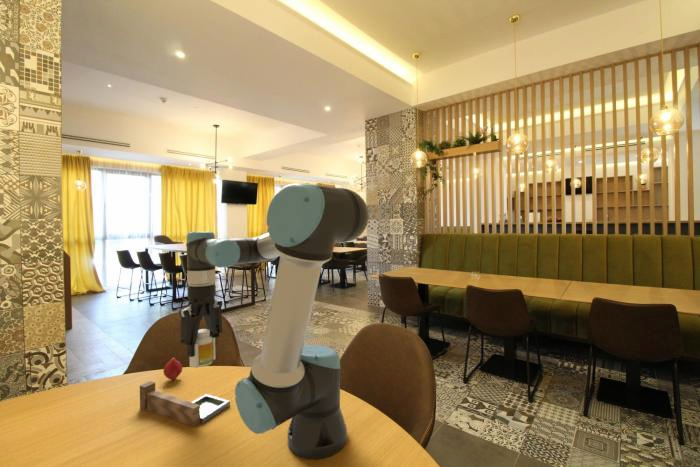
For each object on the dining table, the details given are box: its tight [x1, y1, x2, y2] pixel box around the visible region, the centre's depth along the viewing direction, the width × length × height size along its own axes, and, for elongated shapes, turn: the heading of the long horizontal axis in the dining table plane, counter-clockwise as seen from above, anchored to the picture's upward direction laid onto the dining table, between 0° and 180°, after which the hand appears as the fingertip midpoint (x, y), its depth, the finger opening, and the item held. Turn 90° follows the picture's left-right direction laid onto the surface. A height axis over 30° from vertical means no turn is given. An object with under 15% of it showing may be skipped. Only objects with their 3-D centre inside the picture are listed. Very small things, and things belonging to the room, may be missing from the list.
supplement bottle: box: [196, 328, 214, 368], centre depth 96 cm, size 5×5×10 cm
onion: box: [163, 357, 183, 381], centre depth 116 cm, size 6×6×8 cm
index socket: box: [191, 393, 231, 425], centre depth 97 cm, size 10×10×2 cm
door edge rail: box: [139, 380, 201, 428], centre depth 94 cm, size 22×3×7 cm, turn 65°
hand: (202, 362), depth 96 cm, fingers closed on supplement bottle, 5 cm apart
